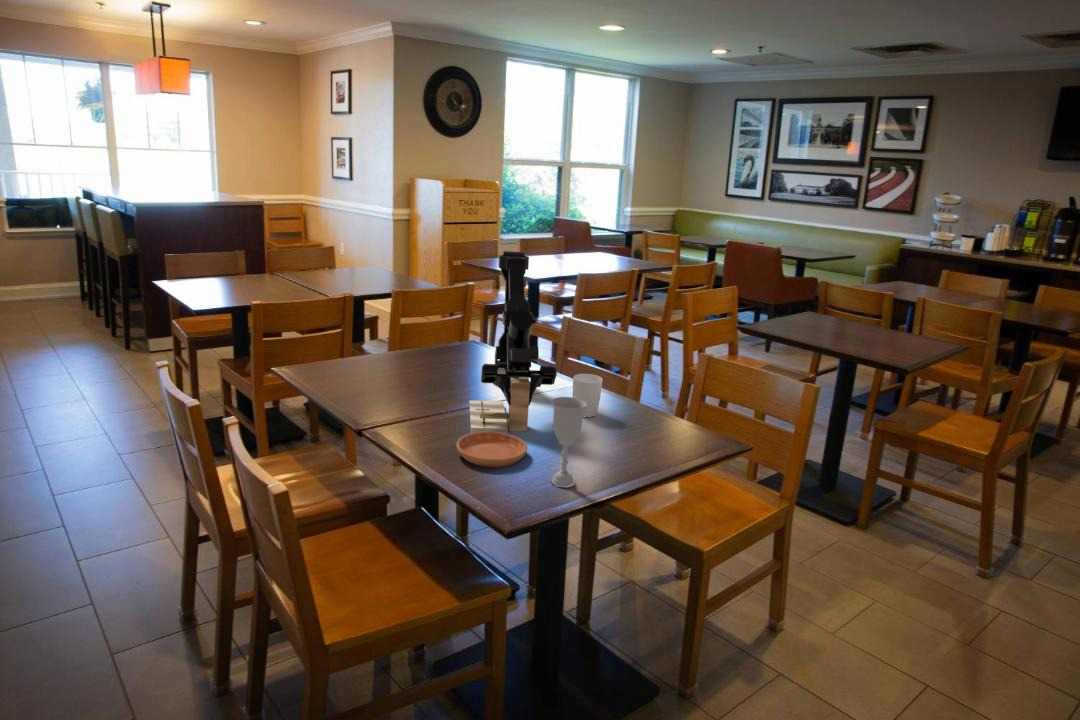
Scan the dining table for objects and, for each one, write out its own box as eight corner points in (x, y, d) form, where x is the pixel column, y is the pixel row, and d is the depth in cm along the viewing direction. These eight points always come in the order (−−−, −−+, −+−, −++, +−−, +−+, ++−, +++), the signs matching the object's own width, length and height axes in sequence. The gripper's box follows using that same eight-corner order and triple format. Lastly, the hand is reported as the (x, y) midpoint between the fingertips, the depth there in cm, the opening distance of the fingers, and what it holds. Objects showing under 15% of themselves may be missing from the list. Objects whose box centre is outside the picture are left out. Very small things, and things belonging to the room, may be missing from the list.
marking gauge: (479, 424, 181) (481, 376, 178) (525, 424, 183) (528, 378, 179) (479, 429, 177) (481, 381, 174) (527, 430, 179) (530, 383, 175)
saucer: (537, 452, 167) (538, 440, 166) (506, 477, 153) (507, 464, 152) (477, 437, 173) (478, 426, 172) (442, 460, 159) (442, 448, 158)
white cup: (603, 418, 191) (606, 382, 189) (575, 418, 189) (577, 382, 187) (594, 408, 199) (597, 373, 196) (566, 408, 197) (569, 373, 194)
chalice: (539, 483, 150) (545, 402, 146) (556, 472, 156) (561, 394, 151) (569, 493, 147) (576, 411, 142) (585, 482, 152) (592, 402, 148)
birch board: (469, 405, 194) (469, 400, 193) (502, 406, 195) (502, 400, 195) (470, 433, 175) (471, 427, 174) (507, 434, 176) (508, 428, 175)
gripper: (483, 332, 177) (483, 389, 169) (558, 335, 179) (561, 391, 172) (481, 354, 186) (480, 409, 179) (552, 356, 189) (554, 410, 181)
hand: (519, 404), depth 177 cm, fingers closed on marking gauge, 4 cm apart
